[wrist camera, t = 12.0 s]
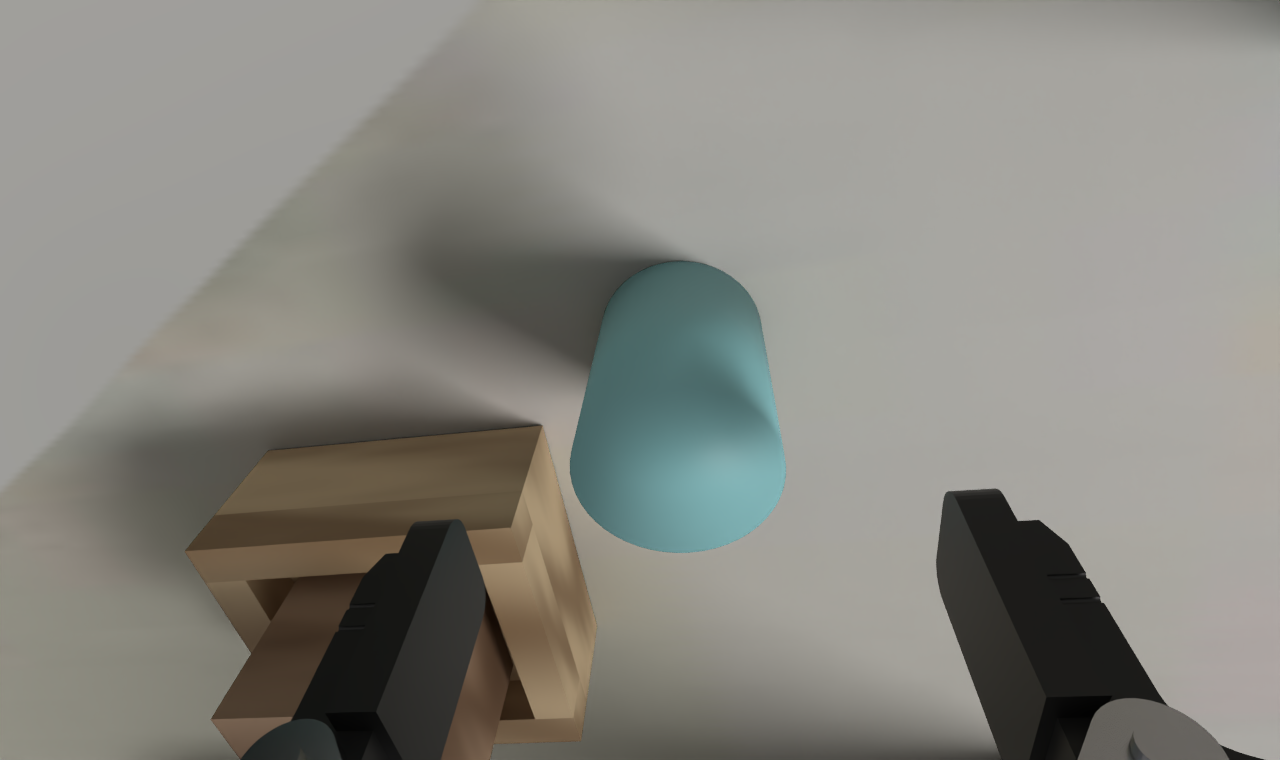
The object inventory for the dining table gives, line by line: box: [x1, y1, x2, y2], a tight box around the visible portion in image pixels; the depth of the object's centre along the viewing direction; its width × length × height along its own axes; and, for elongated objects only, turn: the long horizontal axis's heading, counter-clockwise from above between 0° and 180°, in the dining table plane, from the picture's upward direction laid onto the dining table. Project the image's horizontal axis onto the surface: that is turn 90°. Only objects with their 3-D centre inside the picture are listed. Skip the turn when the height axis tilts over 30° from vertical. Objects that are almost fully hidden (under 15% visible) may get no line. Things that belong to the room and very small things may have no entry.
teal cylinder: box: [570, 261, 786, 553], centre depth 17 cm, size 4×4×6 cm
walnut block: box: [211, 572, 513, 760], centre depth 20 cm, size 5×5×5 cm
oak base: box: [185, 426, 597, 744], centre depth 23 cm, size 9×9×4 cm
